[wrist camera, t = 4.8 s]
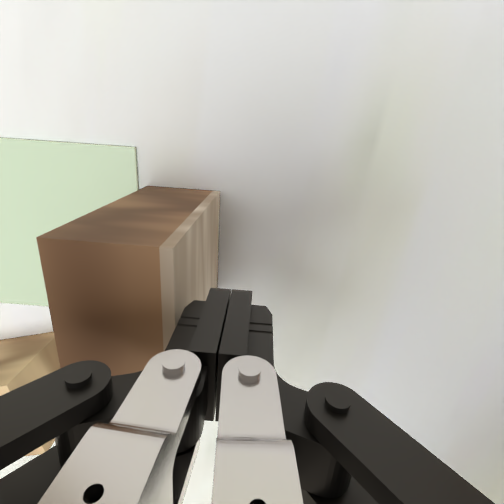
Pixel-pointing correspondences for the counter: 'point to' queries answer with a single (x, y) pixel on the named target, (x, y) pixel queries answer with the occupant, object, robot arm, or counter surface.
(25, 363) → the oak block
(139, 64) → the counter surface
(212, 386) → the robot arm
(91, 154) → the pad
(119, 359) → the walnut block
